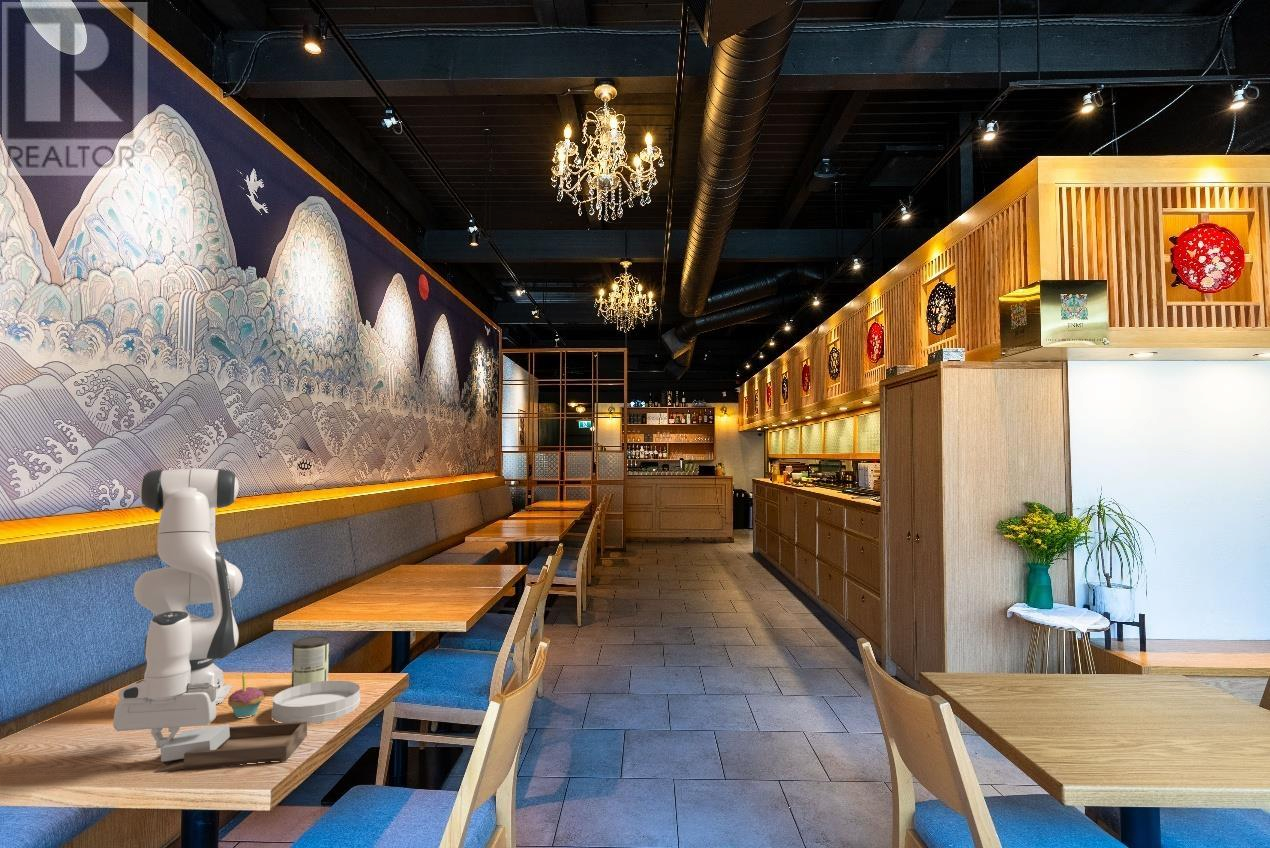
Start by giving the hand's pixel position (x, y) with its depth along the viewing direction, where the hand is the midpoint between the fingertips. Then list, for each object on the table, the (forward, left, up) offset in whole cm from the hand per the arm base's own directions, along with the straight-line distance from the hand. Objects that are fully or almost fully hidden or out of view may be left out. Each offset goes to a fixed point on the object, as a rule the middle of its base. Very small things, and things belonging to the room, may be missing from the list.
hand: (164, 746), depth 151 cm
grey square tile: (0, +7, -2) cm, 7 cm away
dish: (-27, +25, -3) cm, 37 cm away
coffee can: (-48, +17, -3) cm, 51 cm away
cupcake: (-26, +7, -3) cm, 27 cm away
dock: (0, +15, -3) cm, 16 cm away
